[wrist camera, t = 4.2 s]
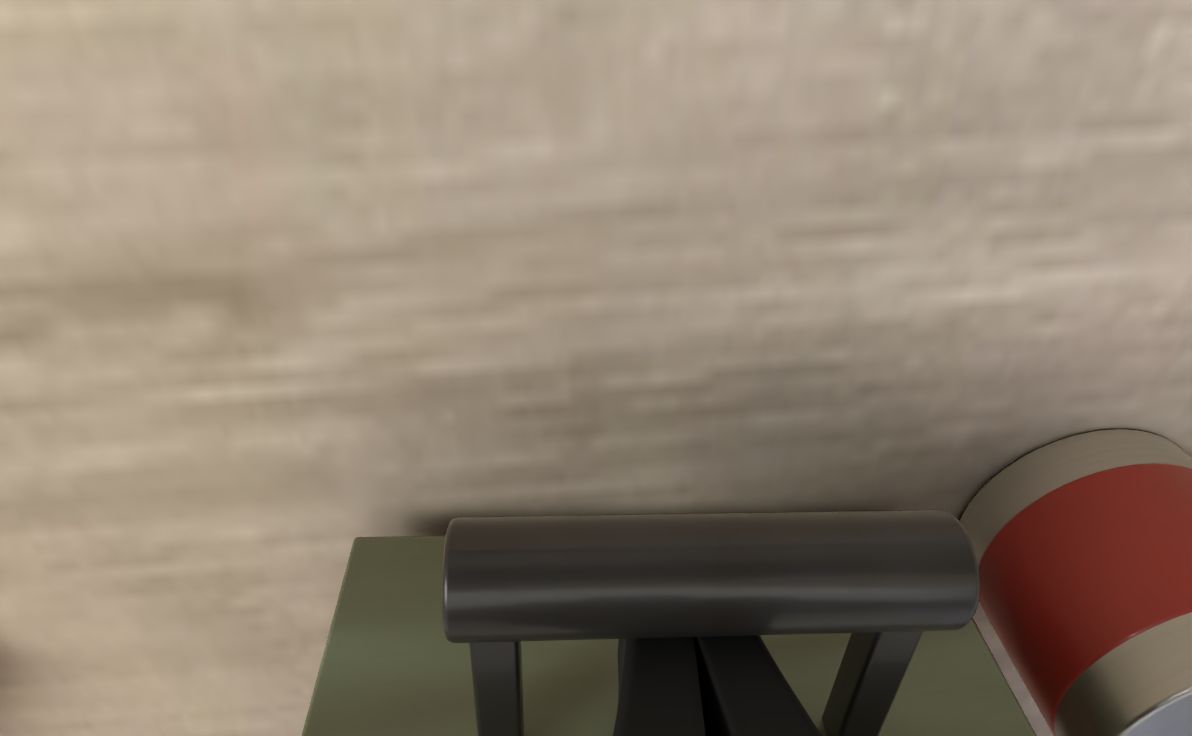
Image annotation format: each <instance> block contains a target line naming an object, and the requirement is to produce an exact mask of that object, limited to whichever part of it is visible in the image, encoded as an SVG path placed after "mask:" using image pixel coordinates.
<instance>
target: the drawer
mask: <svg viewBox="0 0 1192 736" xmlns="http://www.w3.org/2000/svg"><path fill="white" fill-rule="evenodd" d="M979 589H980V581H979V570H978V563H977V558H976V554H975V551H974V548H973V545H972V542H971V540H970V538H969V535H968V533H967V532H966V530H965V528H964V527H963V525H962V524H961V523H960V522H959V520H958V519H956V518H955V517H954V516H953V515H951V514H949V513H947V512H944V511H940V510H924V511H859V512H794V513H729V514H663V515H598V516H533V517H468V518H455V519H453V520H451V521H450V523H449V526H448V529H447V532H446V536H402V537H358V538H355V540H354V542H353V545H352V549H351V553H350V557H349V560H348V564H347V568H346V571H345V575H344V579H343V583H342V586H341V590H340V594H339V598H338V601H337V605H336V609H335V613H334V616H333V620H332V624H331V628H330V631H329V635H328V639H327V643H326V646H325V650H324V654H323V658H322V661H321V665H320V669H319V672H318V676H317V680H316V684H315V687H314V691H313V695H312V699H311V702H310V706H309V710H308V714H307V717H306V721H305V725H304V729H303V732H302V736H613V732H614V726H615V721H616V715H617V708H618V655H617V654H618V642H619V639H636V638H675V637H714V636H753V635H760V637H761V639H762V641H763V642H764V644H765V646H766V647H767V649H768V651H769V653H770V654H771V656H772V658H773V659H774V661H775V663H776V664H777V666H778V668H779V669H780V671H781V673H782V674H783V676H784V677H785V679H786V681H787V682H788V684H789V685H790V687H791V688H792V690H793V692H794V693H795V695H796V696H797V698H798V699H799V701H800V702H801V704H802V706H803V707H804V709H805V710H806V712H807V713H808V715H809V716H810V718H811V720H812V721H813V723H814V724H815V726H816V727H817V729H818V730H819V732H820V733H821V734H822V736H1036V734H1035V732H1034V730H1033V729H1032V727H1031V725H1030V723H1029V721H1028V719H1027V717H1026V716H1025V714H1024V712H1023V710H1022V708H1021V706H1020V705H1019V703H1018V701H1017V699H1016V697H1015V695H1014V694H1013V692H1012V690H1011V688H1010V686H1009V684H1008V683H1007V681H1006V679H1005V677H1004V675H1003V673H1002V671H1001V670H1000V668H999V666H998V664H997V662H996V660H995V659H994V657H993V655H992V653H991V651H990V649H989V648H988V646H987V644H986V642H985V640H984V638H983V636H982V635H981V633H980V631H979V629H978V627H977V625H976V624H975V622H974V620H973V616H974V614H975V611H976V608H977V605H978V599H979Z"/></svg>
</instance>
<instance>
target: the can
mask: <svg viewBox="0 0 1192 736" xmlns="http://www.w3.org/2000/svg"><path fill="white" fill-rule="evenodd" d="M960 523H961V524H962V525H963V527H964V528H965V530H966V532H967V533H968V535H969V538H970V540H971V542H972V545H973V548H974V551H975V554H976V558H977V563H978V570H979V581H980V589H979V599H978V601H979V603H980V605H981V607H982V609H983V610H984V612H985V614H986V616H987V618H988V619H989V621H990V623H991V625H992V626H993V628H994V630H995V632H996V634H997V635H998V637H999V639H1000V641H1001V642H1002V644H1003V646H1004V648H1005V650H1006V651H1007V653H1008V655H1009V657H1010V658H1011V660H1012V662H1013V664H1014V666H1015V667H1016V669H1017V671H1018V673H1019V674H1020V676H1021V678H1022V680H1023V682H1024V683H1025V685H1026V687H1027V689H1028V690H1029V692H1030V694H1031V696H1032V698H1033V699H1034V701H1035V703H1036V705H1037V706H1038V708H1039V710H1040V712H1041V714H1042V715H1043V717H1044V719H1045V721H1046V722H1047V724H1048V726H1049V728H1050V730H1051V731H1052V733H1053V735H1054V736H1192V459H1191V458H1190V457H1189V456H1188V455H1187V454H1186V453H1185V452H1184V451H1183V450H1182V449H1181V448H1180V447H1178V446H1177V445H1176V444H1174V443H1173V442H1171V441H1169V440H1167V439H1165V438H1163V437H1161V436H1158V435H1155V434H1151V433H1148V432H1143V431H1137V430H1127V429H1112V430H1099V431H1093V432H1087V433H1082V434H1078V435H1074V436H1070V437H1067V438H1064V439H1061V440H1058V441H1055V442H1052V443H1050V444H1048V445H1045V446H1043V447H1041V448H1038V449H1036V450H1034V451H1032V452H1031V453H1029V454H1027V455H1025V456H1023V457H1021V458H1020V459H1018V460H1016V461H1015V462H1013V463H1012V464H1010V465H1009V466H1007V467H1006V468H1004V469H1003V470H1002V471H1001V472H999V473H998V474H997V475H995V476H994V477H993V478H992V479H991V480H990V481H989V482H988V483H987V484H986V485H984V486H983V487H982V489H981V490H980V491H979V492H978V493H977V494H976V495H975V497H974V498H973V499H972V501H971V502H970V504H969V505H968V506H967V508H966V509H965V511H964V513H963V515H962V517H961V519H960Z"/></svg>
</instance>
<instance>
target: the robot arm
mask: <svg viewBox="0 0 1192 736" xmlns="http://www.w3.org/2000/svg"><path fill="white" fill-rule="evenodd" d="M617 655H618V708H617V715H616V721H615V726H614V732H613V736H822V734H821V733H820V732H819V730H818V729H817V727H816V726H815V724H814V723H813V721H812V720H811V718H810V716H809V715H808V713H807V712H806V710H805V709H804V707H803V706H802V704H801V702H800V701H799V699H798V698H797V696H796V695H795V693H794V692H793V690H792V688H791V687H790V685H789V684H788V682H787V681H786V679H785V677H784V676H783V674H782V673H781V671H780V669H779V668H778V666H777V664H776V663H775V661H774V659H773V658H772V656H771V654H770V653H769V651H768V649H767V647H766V646H765V644H764V642H763V641H762V639H761V637H760V635H753V636H714V637H675V638H636V639H619V642H618V654H617Z"/></svg>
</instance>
